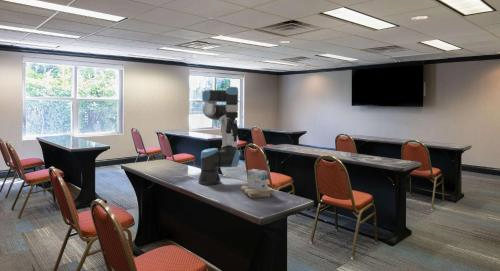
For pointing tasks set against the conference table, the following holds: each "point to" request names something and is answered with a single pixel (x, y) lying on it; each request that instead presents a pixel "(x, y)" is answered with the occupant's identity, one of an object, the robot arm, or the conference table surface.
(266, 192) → the wavy wood-grain tile
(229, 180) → the conference table surface
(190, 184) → the conference table surface
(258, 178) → the light bulb box
